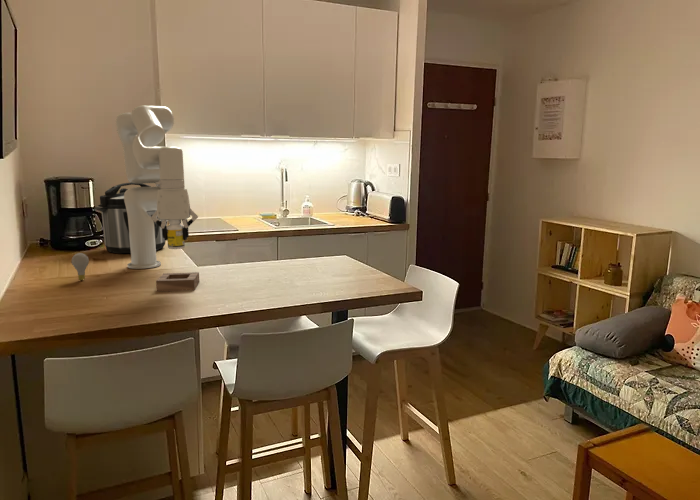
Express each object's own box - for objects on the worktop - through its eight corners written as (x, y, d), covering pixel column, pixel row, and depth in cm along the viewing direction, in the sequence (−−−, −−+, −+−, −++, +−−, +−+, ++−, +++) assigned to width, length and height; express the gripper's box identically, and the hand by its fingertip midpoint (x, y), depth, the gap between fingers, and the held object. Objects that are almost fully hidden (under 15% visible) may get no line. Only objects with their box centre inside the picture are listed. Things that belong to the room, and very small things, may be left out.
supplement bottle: (164, 248, 184) (163, 219, 183) (179, 246, 188) (177, 217, 187) (173, 250, 181) (171, 220, 179) (187, 248, 185) (186, 218, 183)
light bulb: (83, 282, 194) (81, 254, 192) (70, 282, 195) (67, 254, 193) (93, 279, 199) (91, 252, 197) (80, 278, 200) (77, 251, 199)
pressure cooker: (94, 256, 245) (88, 184, 240) (108, 246, 273) (102, 181, 267) (165, 253, 251) (160, 183, 246) (171, 244, 279) (167, 180, 273)
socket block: (164, 283, 192) (163, 273, 191) (199, 282, 194) (198, 272, 193) (156, 291, 180) (156, 281, 180) (194, 290, 182) (193, 279, 181)
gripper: (142, 186, 176) (146, 242, 180) (197, 185, 179) (200, 240, 182) (148, 184, 184) (151, 238, 187) (200, 184, 186) (203, 237, 189)
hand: (175, 239), depth 184 cm, fingers closed on supplement bottle, 5 cm apart
